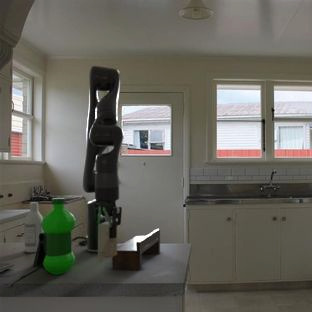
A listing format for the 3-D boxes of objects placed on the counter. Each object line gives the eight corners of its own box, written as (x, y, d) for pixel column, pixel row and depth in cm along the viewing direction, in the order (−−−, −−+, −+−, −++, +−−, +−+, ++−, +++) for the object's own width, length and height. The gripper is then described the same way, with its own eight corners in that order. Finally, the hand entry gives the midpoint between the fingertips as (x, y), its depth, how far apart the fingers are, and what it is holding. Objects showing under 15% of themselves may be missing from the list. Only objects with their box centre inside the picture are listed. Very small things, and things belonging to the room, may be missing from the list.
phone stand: (33, 265, 131) (32, 232, 131) (47, 261, 137) (47, 229, 137) (51, 268, 128) (50, 234, 128) (65, 263, 133) (64, 231, 133)
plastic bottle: (35, 275, 121) (34, 200, 120) (58, 266, 131) (57, 196, 131) (60, 278, 118) (59, 200, 118) (82, 268, 128) (81, 196, 128)
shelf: (112, 269, 127) (111, 241, 127) (136, 252, 149) (136, 228, 149) (139, 270, 126) (139, 242, 126) (160, 252, 148) (160, 229, 147)
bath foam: (39, 247, 157) (39, 201, 157) (47, 250, 153) (46, 202, 152) (22, 251, 152) (21, 202, 151) (29, 253, 147) (28, 204, 147)
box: (109, 259, 118) (109, 224, 117) (97, 258, 119) (97, 224, 118) (117, 254, 123) (117, 221, 123) (106, 253, 124) (106, 221, 123)
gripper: (129, 186, 118) (129, 238, 119) (106, 183, 128) (106, 231, 128) (107, 188, 113) (108, 242, 113) (85, 185, 122) (86, 235, 123)
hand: (107, 236), depth 121 cm, fingers closed on box, 6 cm apart
